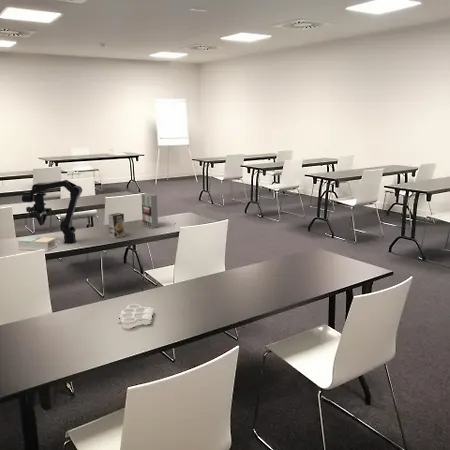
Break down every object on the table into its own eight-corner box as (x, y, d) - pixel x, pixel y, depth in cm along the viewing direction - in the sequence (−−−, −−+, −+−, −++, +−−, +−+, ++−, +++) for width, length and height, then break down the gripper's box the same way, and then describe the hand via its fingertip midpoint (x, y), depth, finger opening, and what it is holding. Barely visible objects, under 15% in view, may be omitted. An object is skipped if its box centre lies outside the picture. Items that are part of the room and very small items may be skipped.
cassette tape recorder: (141, 225, 345) (140, 193, 339) (148, 224, 349) (147, 193, 343) (151, 228, 335) (150, 196, 329) (158, 227, 339) (157, 195, 333)
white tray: (57, 246, 290) (56, 238, 288) (46, 251, 278) (46, 243, 277) (29, 244, 293) (28, 237, 292) (18, 249, 281) (17, 242, 280)
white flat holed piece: (150, 329, 176) (113, 330, 175) (155, 310, 194) (121, 311, 193) (150, 321, 175) (112, 322, 175) (154, 303, 193) (121, 304, 192)
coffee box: (115, 238, 308) (113, 215, 304) (109, 237, 312) (107, 214, 308) (125, 235, 315) (124, 213, 311) (119, 234, 319) (118, 212, 315)
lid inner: (55, 239, 288) (55, 238, 287) (46, 243, 278) (46, 242, 277) (42, 238, 289) (42, 237, 289) (33, 242, 279) (33, 241, 279)
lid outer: (40, 238, 289) (40, 237, 289) (31, 242, 279) (31, 241, 279) (27, 237, 291) (27, 236, 291) (18, 241, 281) (17, 240, 281)
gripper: (36, 199, 302) (38, 221, 306) (19, 204, 284) (22, 228, 288) (51, 199, 300) (53, 222, 304) (35, 205, 283) (38, 228, 286)
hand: (41, 225), depth 296 cm, fingers closed
